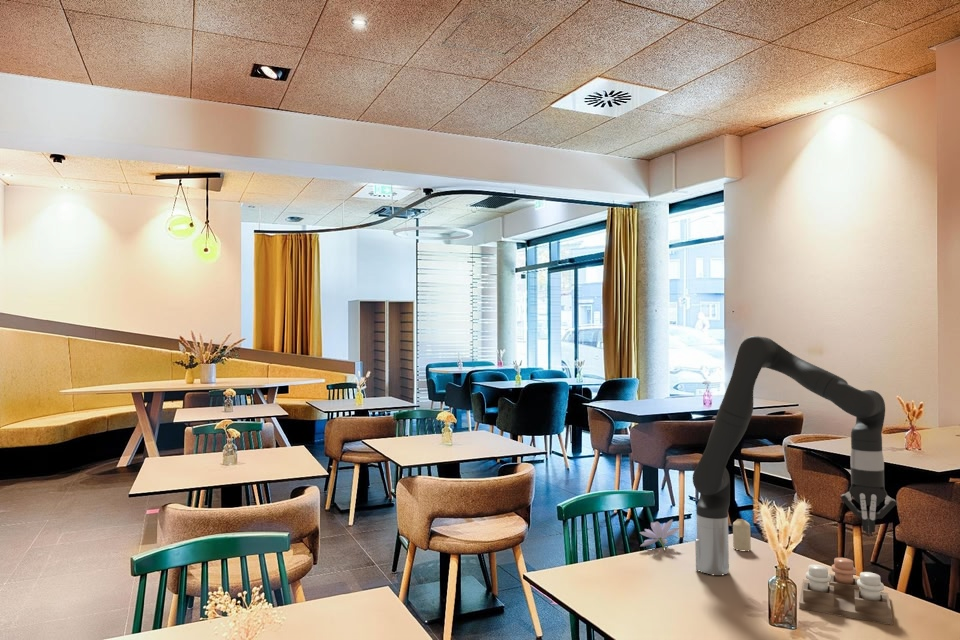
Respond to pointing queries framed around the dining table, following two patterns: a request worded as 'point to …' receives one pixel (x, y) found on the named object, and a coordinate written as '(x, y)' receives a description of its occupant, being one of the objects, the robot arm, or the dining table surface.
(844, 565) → the middle knob
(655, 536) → the water lily
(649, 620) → the dining table surface
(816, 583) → the knob
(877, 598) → the knob
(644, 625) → the dining table surface
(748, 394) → the robot arm
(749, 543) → the candle
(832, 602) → the mount block
